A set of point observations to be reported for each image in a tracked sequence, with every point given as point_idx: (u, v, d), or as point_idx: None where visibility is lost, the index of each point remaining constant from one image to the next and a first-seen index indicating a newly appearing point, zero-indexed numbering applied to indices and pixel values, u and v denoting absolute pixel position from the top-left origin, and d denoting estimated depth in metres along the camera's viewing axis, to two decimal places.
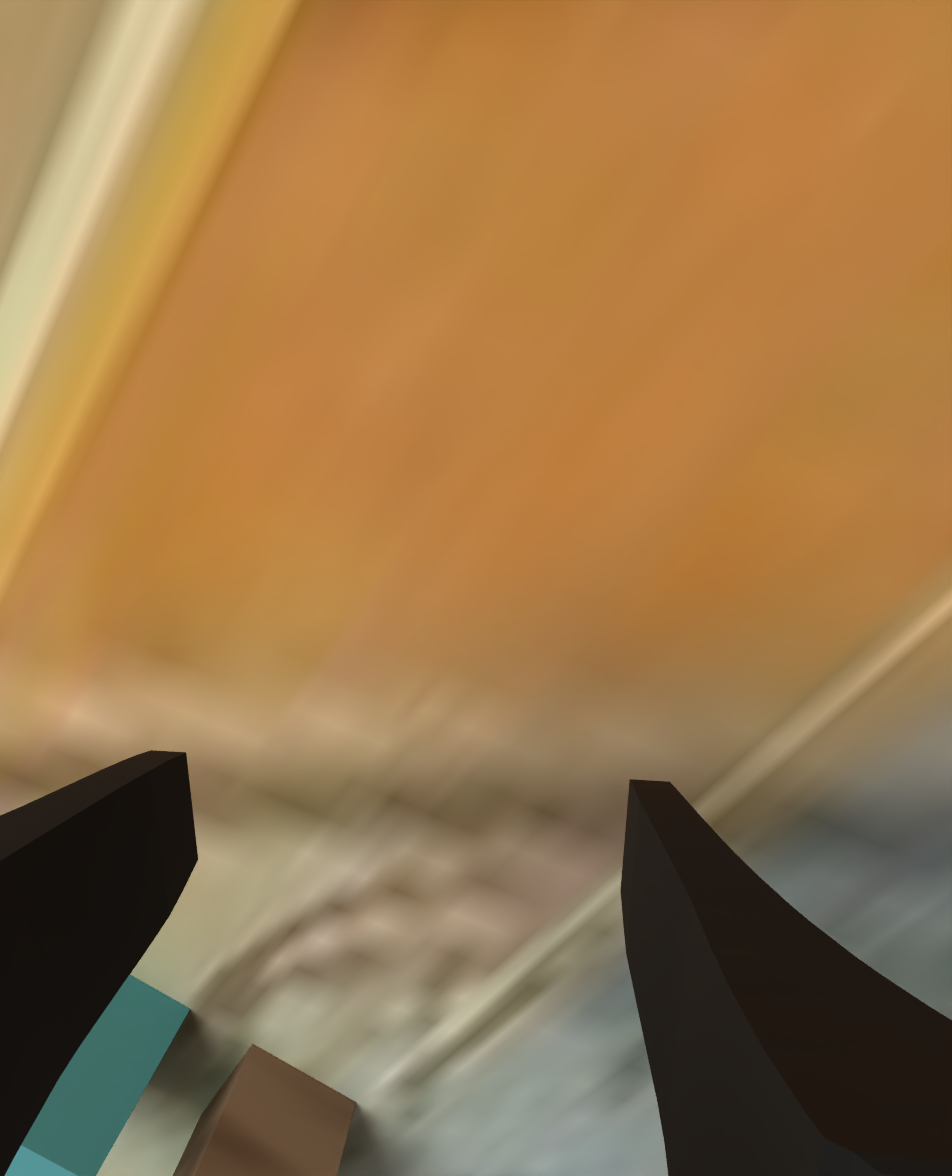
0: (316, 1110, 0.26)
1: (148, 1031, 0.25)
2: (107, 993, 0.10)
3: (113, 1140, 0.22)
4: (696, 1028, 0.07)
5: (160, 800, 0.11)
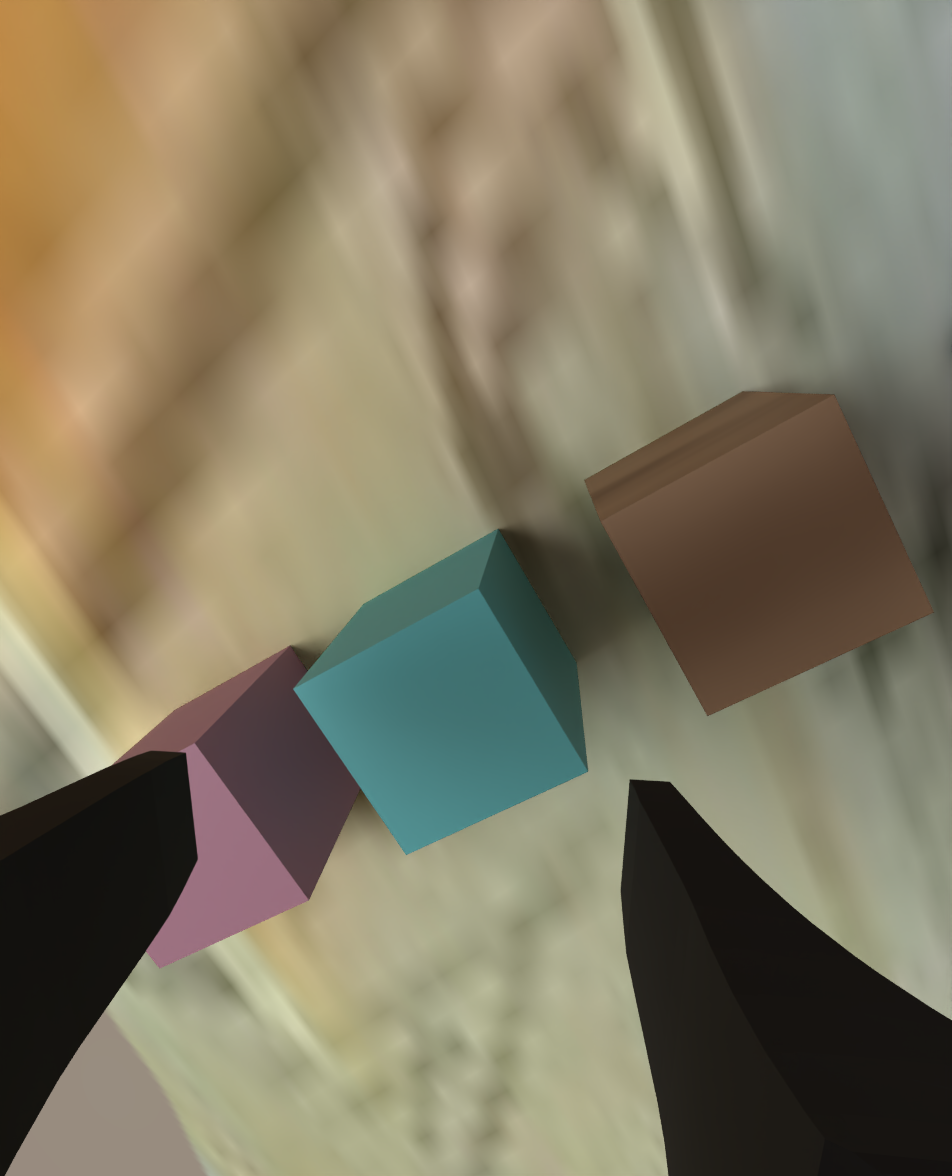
0: (700, 421, 0.17)
1: (465, 556, 0.18)
2: (107, 993, 0.10)
3: (481, 575, 0.15)
4: (696, 1028, 0.07)
5: (160, 800, 0.11)
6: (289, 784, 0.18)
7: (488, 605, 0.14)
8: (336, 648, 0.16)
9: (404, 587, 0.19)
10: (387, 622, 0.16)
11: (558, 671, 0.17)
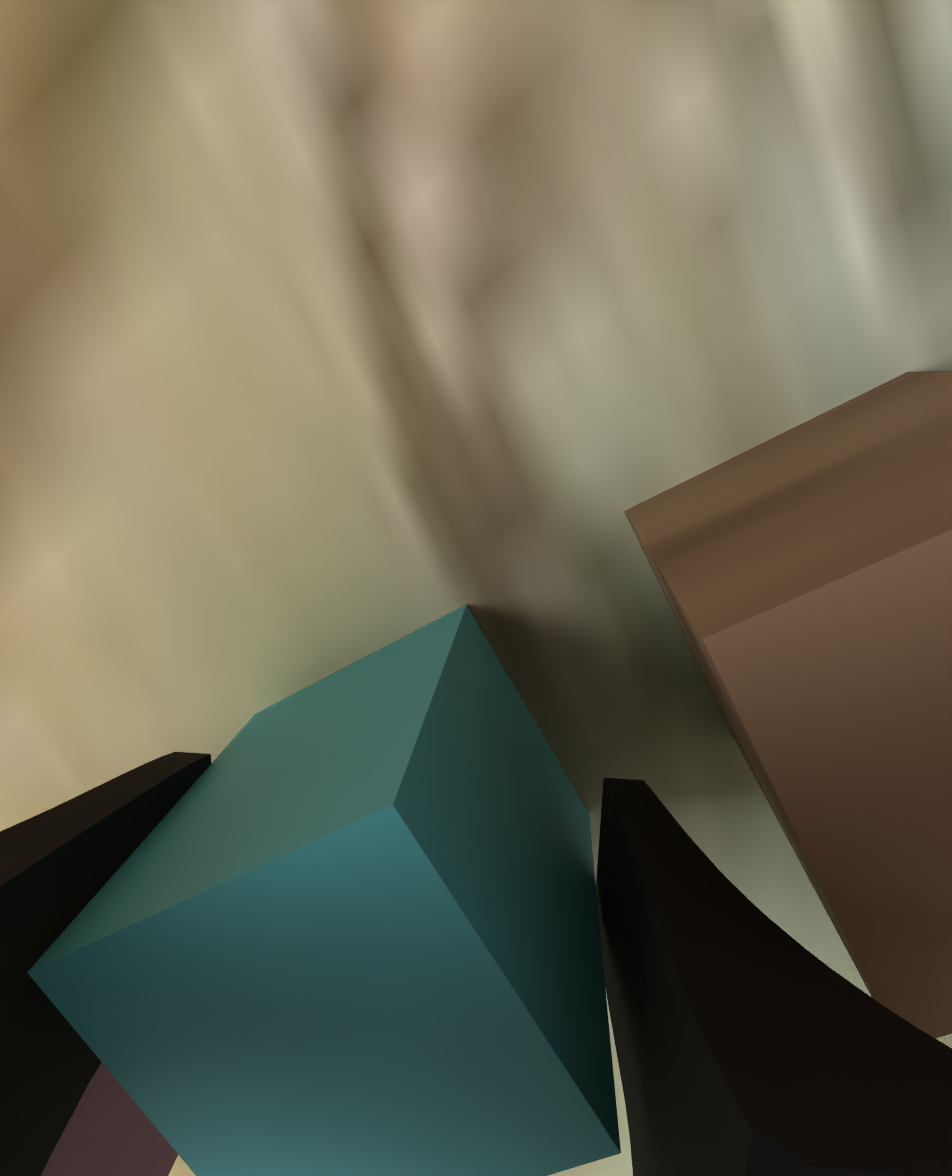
0: (840, 420, 0.10)
1: (406, 658, 0.11)
2: None
3: (412, 744, 0.07)
4: (655, 1024, 0.07)
5: None
6: (93, 1077, 0.10)
7: (416, 837, 0.06)
8: (153, 849, 0.09)
9: (309, 701, 0.12)
10: (240, 814, 0.08)
11: (561, 876, 0.10)
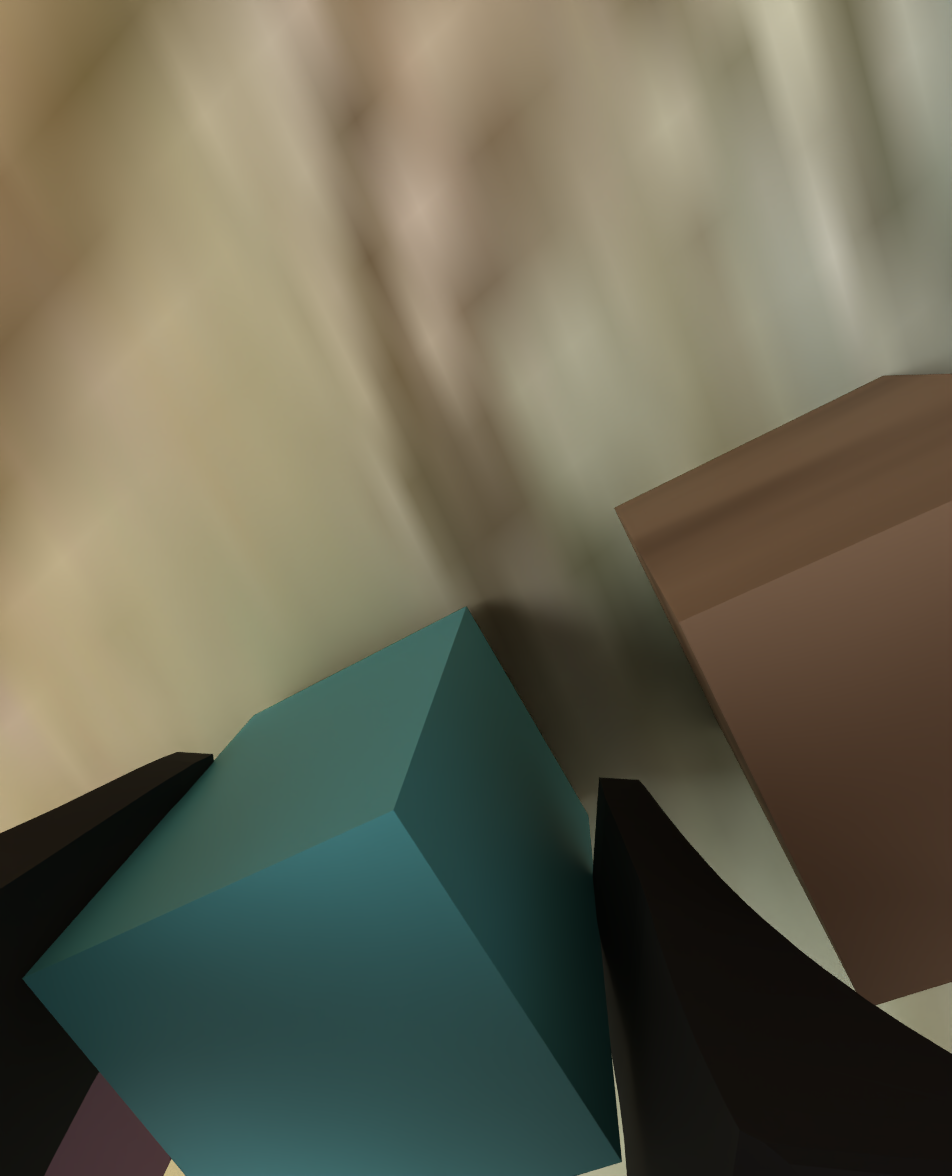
0: (819, 421, 0.10)
1: (406, 661, 0.11)
2: None
3: (413, 748, 0.07)
4: (648, 1024, 0.07)
5: None
6: None
7: (416, 843, 0.06)
8: (150, 853, 0.09)
9: (308, 704, 0.12)
10: (237, 818, 0.08)
11: (561, 881, 0.10)
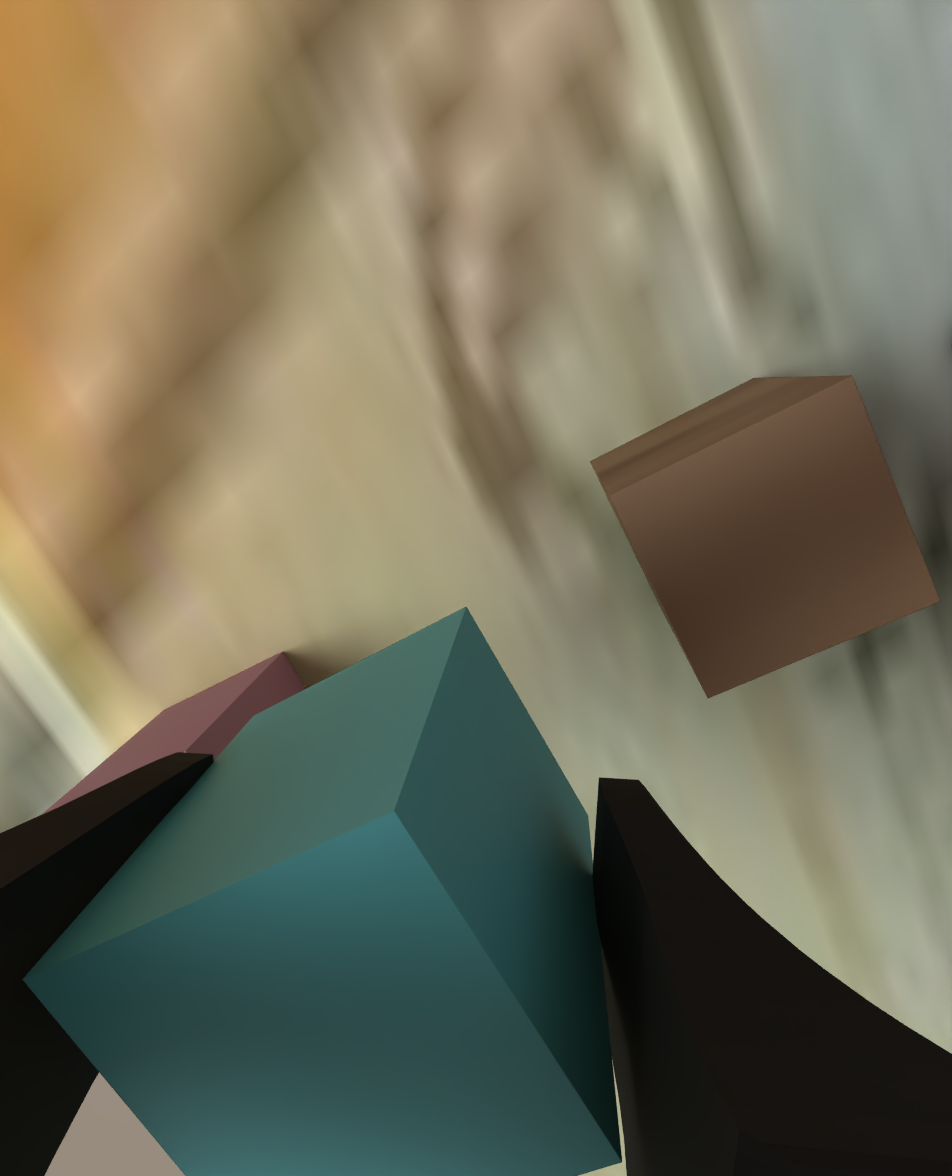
0: (710, 405, 0.17)
1: (406, 661, 0.11)
2: None
3: (413, 749, 0.07)
4: (648, 1024, 0.07)
5: None
6: None
7: (417, 843, 0.06)
8: (150, 854, 0.09)
9: (308, 704, 0.12)
10: (238, 818, 0.08)
11: (561, 881, 0.10)
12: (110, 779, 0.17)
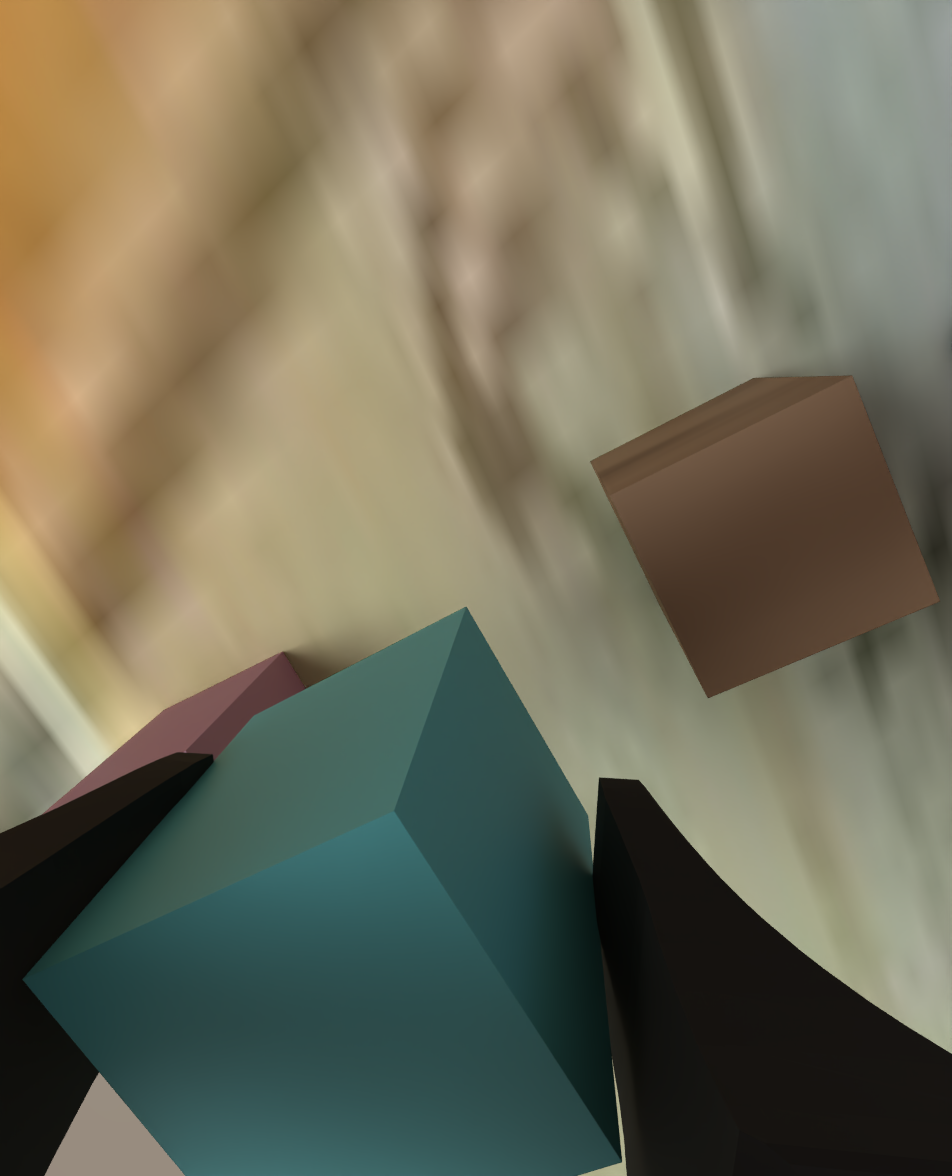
0: (710, 405, 0.17)
1: (406, 661, 0.11)
2: None
3: (413, 749, 0.07)
4: (648, 1024, 0.07)
5: None
6: None
7: (416, 843, 0.06)
8: (150, 854, 0.09)
9: (308, 704, 0.12)
10: (238, 818, 0.08)
11: (561, 881, 0.10)
12: (110, 779, 0.17)
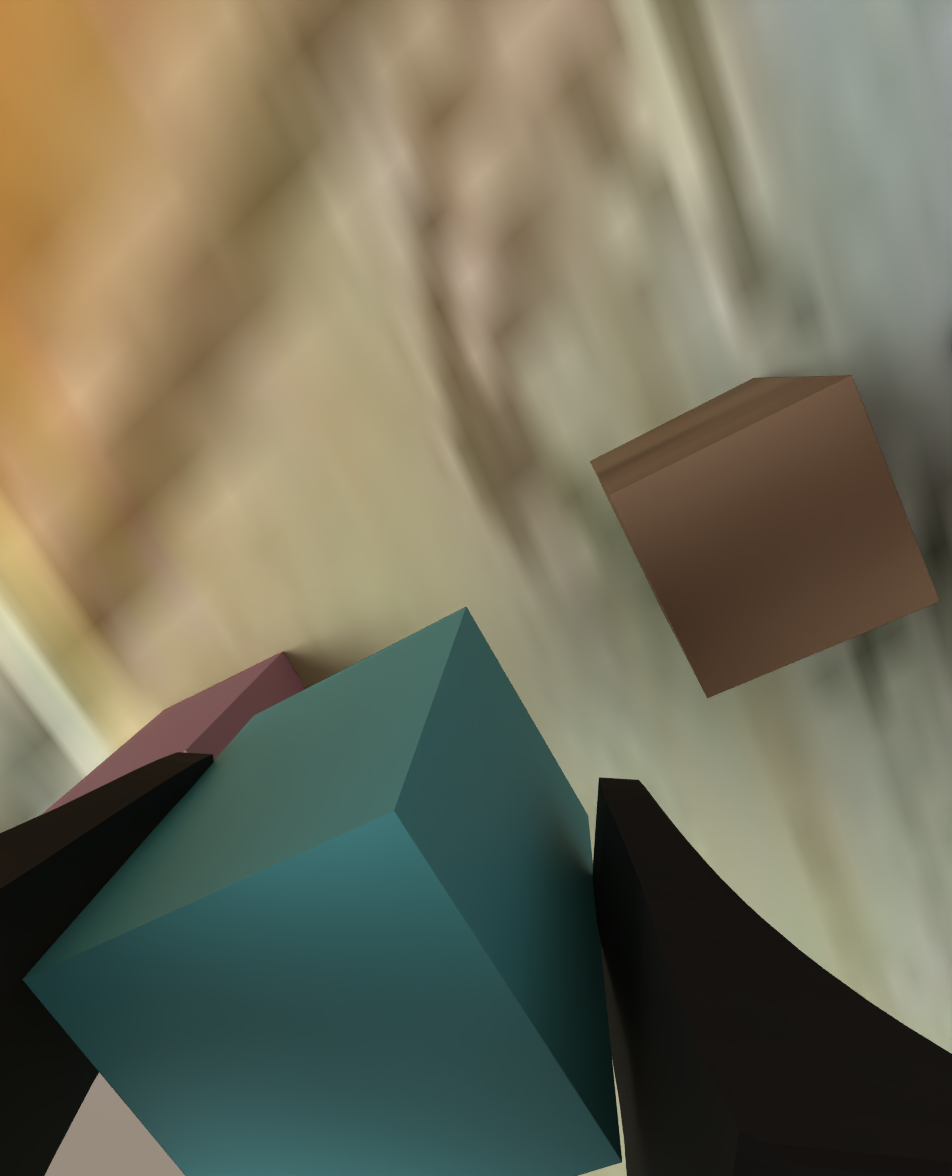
0: (710, 405, 0.17)
1: (406, 661, 0.11)
2: None
3: (413, 749, 0.07)
4: (648, 1024, 0.07)
5: None
6: None
7: (417, 843, 0.06)
8: (150, 854, 0.09)
9: (308, 704, 0.12)
10: (238, 818, 0.08)
11: (561, 881, 0.10)
12: (110, 778, 0.17)
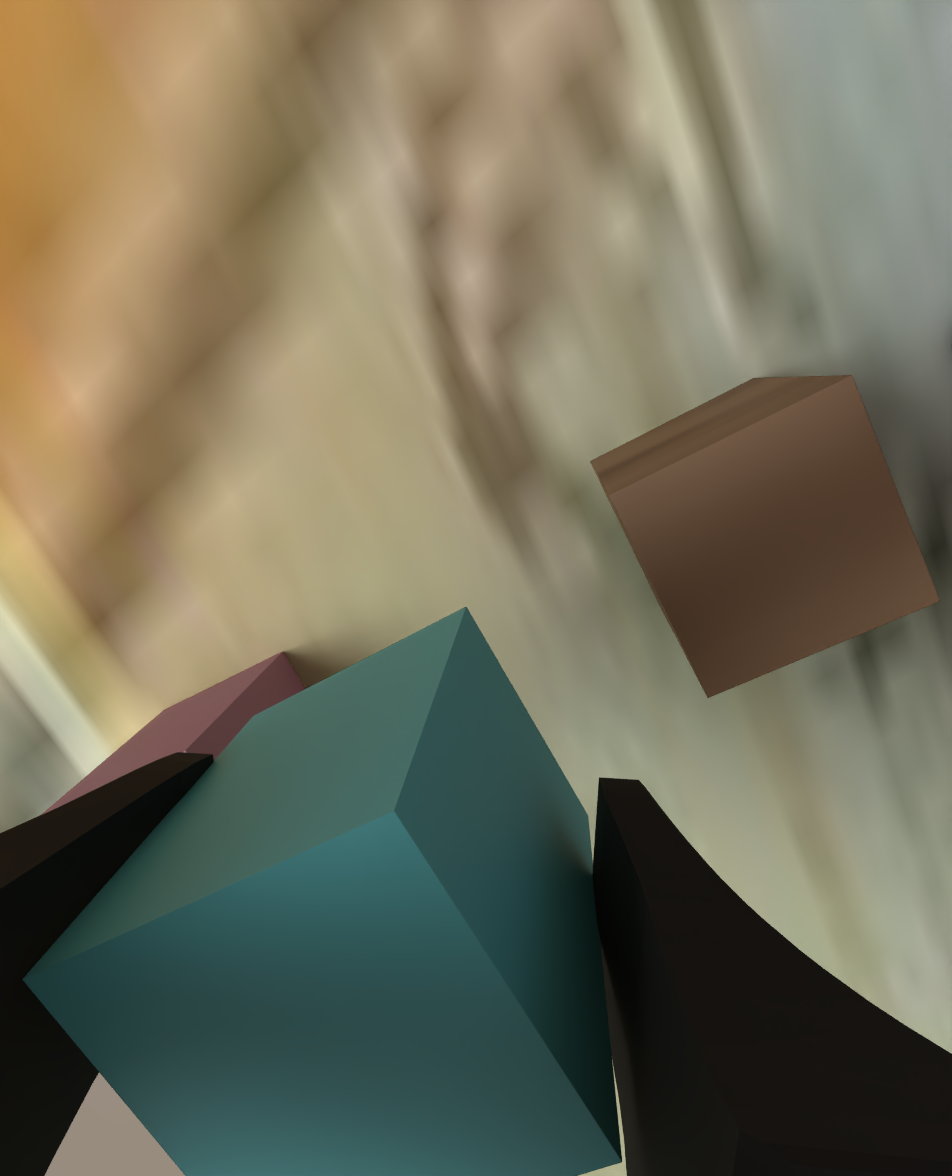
0: (710, 405, 0.17)
1: (406, 661, 0.11)
2: None
3: (413, 748, 0.07)
4: (648, 1024, 0.07)
5: None
6: None
7: (416, 843, 0.06)
8: (150, 854, 0.09)
9: (308, 704, 0.12)
10: (238, 818, 0.08)
11: (561, 881, 0.10)
12: (110, 779, 0.17)
